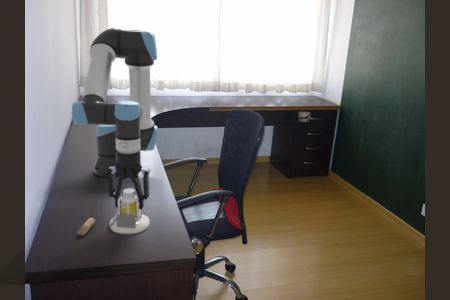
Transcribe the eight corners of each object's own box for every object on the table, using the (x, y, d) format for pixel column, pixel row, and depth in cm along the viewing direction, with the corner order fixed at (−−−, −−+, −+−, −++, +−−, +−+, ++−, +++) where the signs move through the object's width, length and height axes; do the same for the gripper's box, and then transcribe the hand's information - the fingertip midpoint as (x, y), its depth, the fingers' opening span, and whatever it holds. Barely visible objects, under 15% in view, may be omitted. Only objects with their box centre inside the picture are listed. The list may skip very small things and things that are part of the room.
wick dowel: (86, 218, 124) (93, 216, 123) (89, 224, 124) (96, 223, 124) (76, 230, 116) (83, 228, 116) (79, 236, 117) (86, 235, 116)
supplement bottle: (139, 214, 127) (139, 187, 124) (136, 221, 121) (135, 194, 119) (123, 213, 126) (122, 187, 124) (119, 221, 121) (118, 193, 118)
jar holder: (117, 214, 131) (116, 201, 130) (153, 217, 131) (153, 203, 129) (103, 232, 119) (103, 218, 117) (143, 235, 118) (143, 221, 117)
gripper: (95, 151, 114) (98, 219, 121) (154, 156, 113) (154, 223, 120) (103, 145, 121) (106, 209, 128) (159, 149, 121) (159, 213, 127)
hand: (129, 216), depth 124 cm, fingers closed on supplement bottle, 5 cm apart
